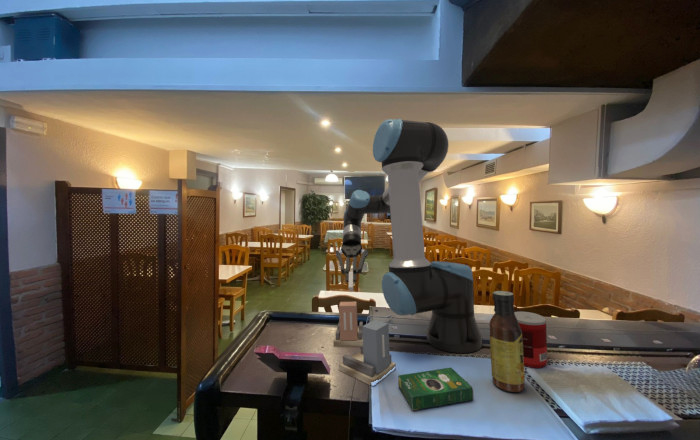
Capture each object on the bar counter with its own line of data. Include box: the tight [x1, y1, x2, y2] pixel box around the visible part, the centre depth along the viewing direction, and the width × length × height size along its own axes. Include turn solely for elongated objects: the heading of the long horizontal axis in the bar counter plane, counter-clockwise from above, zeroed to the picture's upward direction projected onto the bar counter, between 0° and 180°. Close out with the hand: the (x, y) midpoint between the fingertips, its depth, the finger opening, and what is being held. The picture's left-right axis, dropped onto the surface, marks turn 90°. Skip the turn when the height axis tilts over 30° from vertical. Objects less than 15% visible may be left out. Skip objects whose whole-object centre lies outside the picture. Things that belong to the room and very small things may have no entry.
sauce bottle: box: [489, 290, 526, 393], centre depth 59 cm, size 7×6×20 cm
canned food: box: [514, 311, 548, 369], centre depth 68 cm, size 8×8×11 cm
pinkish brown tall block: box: [338, 301, 359, 340], centre depth 82 cm, size 4×5×10 cm
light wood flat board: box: [333, 321, 397, 386], centre depth 76 cm, size 13×32×4 cm, turn 15°
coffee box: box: [397, 367, 475, 411], centre depth 57 cm, size 8×3×13 cm
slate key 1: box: [362, 319, 391, 374], centre depth 65 cm, size 4×5×10 cm
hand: (350, 289), depth 95 cm, fingers closed
